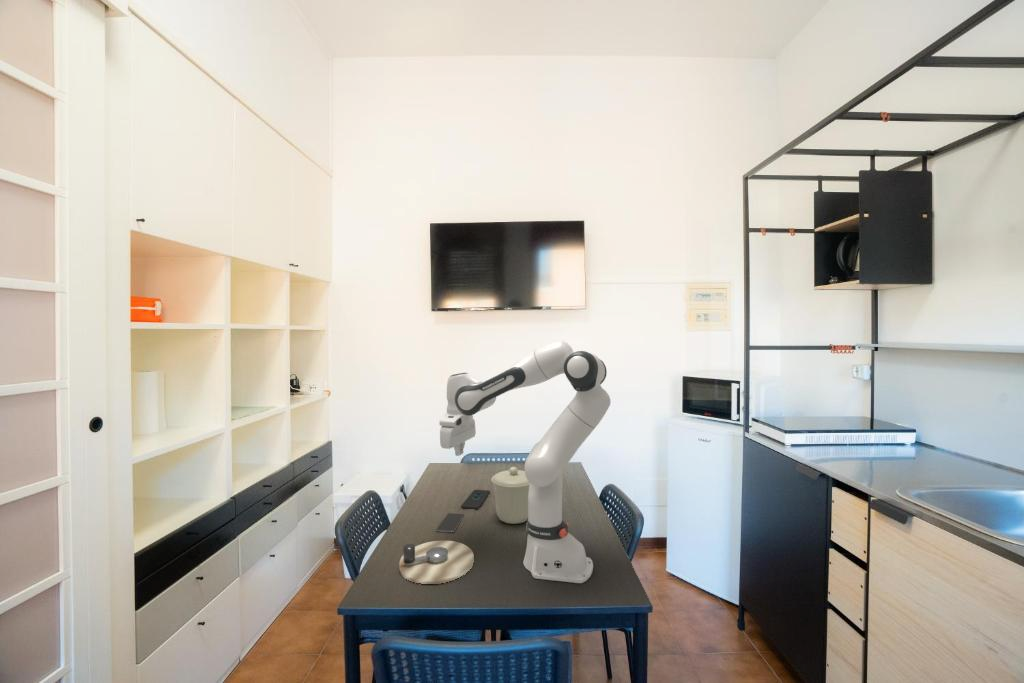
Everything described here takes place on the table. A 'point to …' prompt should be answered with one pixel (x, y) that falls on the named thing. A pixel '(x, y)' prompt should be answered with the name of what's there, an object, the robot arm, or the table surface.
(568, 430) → the robot arm
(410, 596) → the table surface
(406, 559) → the crank handle
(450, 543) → the base
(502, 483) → the canister
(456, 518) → the smartphone
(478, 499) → the smart home device
